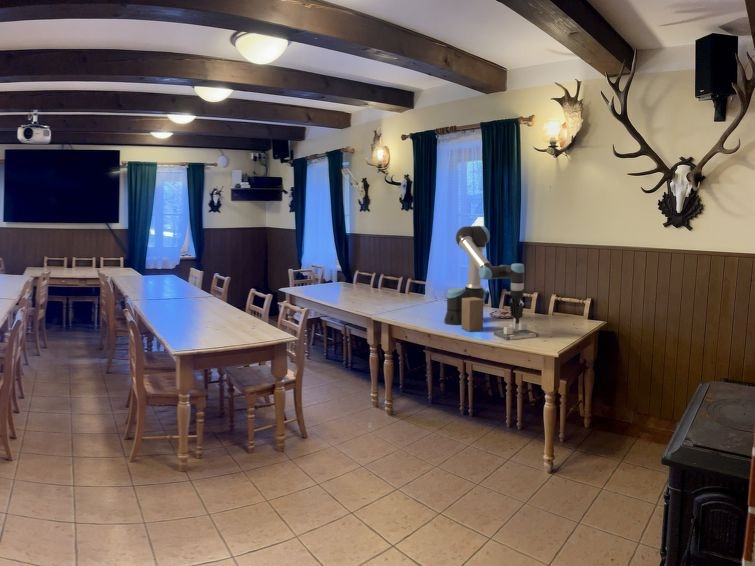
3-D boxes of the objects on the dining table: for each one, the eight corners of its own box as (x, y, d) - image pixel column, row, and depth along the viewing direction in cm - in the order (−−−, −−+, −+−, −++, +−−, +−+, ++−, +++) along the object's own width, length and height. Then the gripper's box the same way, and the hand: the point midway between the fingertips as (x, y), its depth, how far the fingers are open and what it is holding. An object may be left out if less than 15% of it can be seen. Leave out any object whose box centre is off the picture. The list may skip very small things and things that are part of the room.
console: (493, 334, 312) (493, 331, 311) (524, 331, 319) (524, 328, 319) (507, 340, 298) (507, 336, 298) (538, 336, 306) (538, 333, 305)
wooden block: (461, 328, 329) (461, 298, 326) (474, 327, 332) (475, 296, 329) (469, 332, 320) (469, 300, 317) (483, 330, 323) (483, 299, 320)
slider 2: (509, 330, 311) (509, 323, 311) (515, 330, 313) (515, 323, 312) (512, 331, 309) (512, 324, 308) (517, 331, 310) (518, 324, 309)
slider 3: (518, 329, 314) (518, 322, 314) (524, 328, 316) (524, 322, 315) (521, 330, 312) (521, 323, 311) (527, 329, 313) (527, 323, 312)
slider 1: (503, 333, 305) (503, 326, 304) (509, 332, 306) (509, 325, 306) (506, 334, 302) (506, 327, 301) (512, 333, 303) (512, 326, 303)
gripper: (505, 288, 310) (504, 326, 313) (518, 291, 297) (517, 331, 301) (515, 287, 312) (514, 325, 316) (529, 290, 300) (527, 330, 303)
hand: (515, 328), depth 308 cm, fingers closed
